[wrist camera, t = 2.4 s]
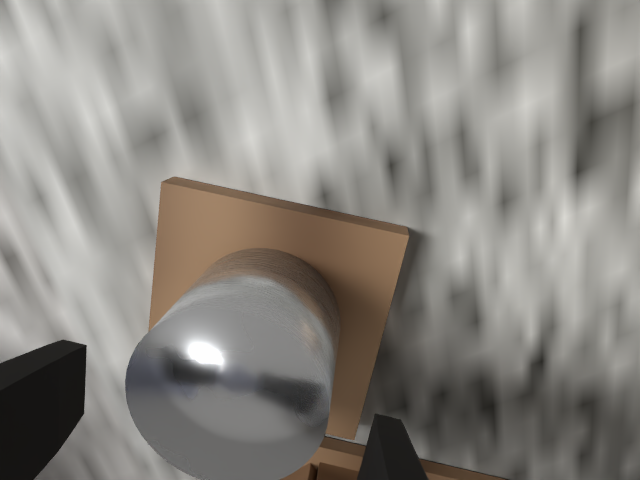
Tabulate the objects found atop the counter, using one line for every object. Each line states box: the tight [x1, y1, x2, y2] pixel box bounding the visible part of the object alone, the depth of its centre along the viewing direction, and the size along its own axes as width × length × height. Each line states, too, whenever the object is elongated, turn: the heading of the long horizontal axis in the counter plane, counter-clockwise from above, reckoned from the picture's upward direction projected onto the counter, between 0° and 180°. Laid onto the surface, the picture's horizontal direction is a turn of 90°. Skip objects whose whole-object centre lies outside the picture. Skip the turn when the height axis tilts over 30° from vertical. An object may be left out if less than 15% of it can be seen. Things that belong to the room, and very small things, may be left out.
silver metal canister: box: [125, 248, 340, 480], centre depth 14 cm, size 5×5×4 cm
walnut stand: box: [149, 177, 409, 440], centre depth 16 cm, size 8×8×1 cm
